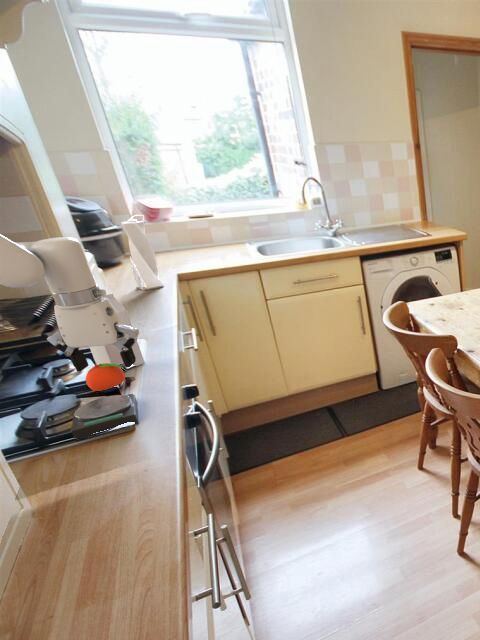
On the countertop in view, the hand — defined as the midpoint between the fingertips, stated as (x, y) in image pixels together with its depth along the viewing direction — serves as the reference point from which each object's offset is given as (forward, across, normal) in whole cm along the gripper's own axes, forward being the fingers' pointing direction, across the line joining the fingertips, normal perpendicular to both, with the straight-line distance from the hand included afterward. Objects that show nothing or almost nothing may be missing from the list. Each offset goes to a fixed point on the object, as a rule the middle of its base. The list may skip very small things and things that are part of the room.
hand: (107, 366), depth 107 cm
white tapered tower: (+7, +32, -92) cm, 97 cm away
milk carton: (+6, +6, -14) cm, 16 cm away
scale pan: (+4, -5, +14) cm, 15 cm away
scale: (+6, -6, +14) cm, 17 cm away
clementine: (+6, 0, 0) cm, 6 cm away
